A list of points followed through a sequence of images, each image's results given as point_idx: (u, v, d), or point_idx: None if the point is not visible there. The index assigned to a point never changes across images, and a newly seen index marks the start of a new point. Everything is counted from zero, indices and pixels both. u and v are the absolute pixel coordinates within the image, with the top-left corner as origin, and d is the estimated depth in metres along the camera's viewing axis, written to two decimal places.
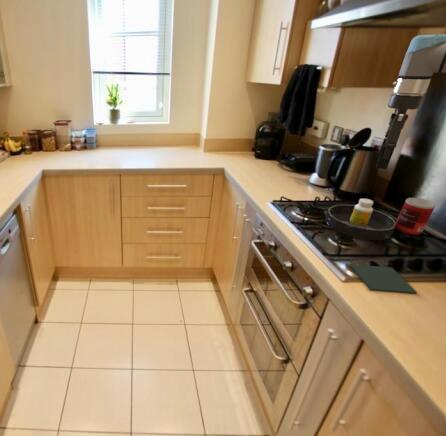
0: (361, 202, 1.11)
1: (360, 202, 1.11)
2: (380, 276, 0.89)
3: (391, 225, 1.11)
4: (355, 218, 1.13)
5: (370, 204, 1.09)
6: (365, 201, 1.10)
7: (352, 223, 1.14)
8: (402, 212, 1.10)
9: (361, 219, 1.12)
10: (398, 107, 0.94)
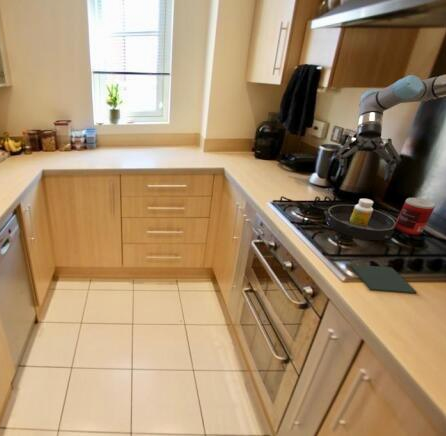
0: (361, 202, 1.11)
1: (360, 202, 1.11)
2: (380, 276, 0.89)
3: (391, 225, 1.11)
4: (355, 218, 1.13)
5: (370, 204, 1.09)
6: (365, 201, 1.10)
7: (352, 223, 1.14)
8: (402, 212, 1.10)
9: (361, 219, 1.12)
10: None
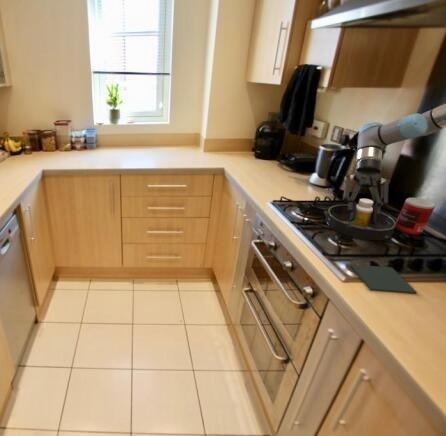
0: (361, 202, 1.11)
1: (360, 202, 1.11)
2: (380, 276, 0.89)
3: (391, 225, 1.11)
4: (355, 218, 1.13)
5: (370, 204, 1.09)
6: (365, 201, 1.10)
7: (352, 223, 1.14)
8: (402, 212, 1.10)
9: (361, 219, 1.12)
10: None
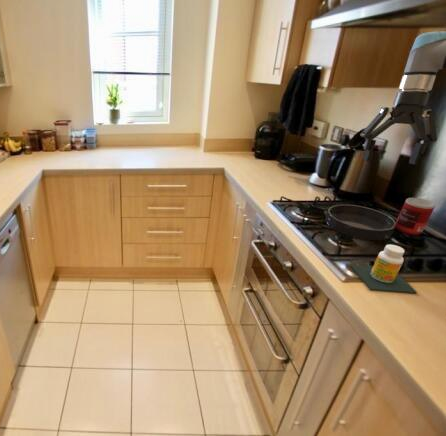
0: (388, 250, 0.84)
1: (386, 250, 0.84)
2: None
3: (391, 225, 1.11)
4: (380, 270, 0.86)
5: (400, 253, 0.82)
6: (393, 249, 0.84)
7: (375, 276, 0.88)
8: (402, 212, 1.10)
9: (388, 272, 0.85)
10: None
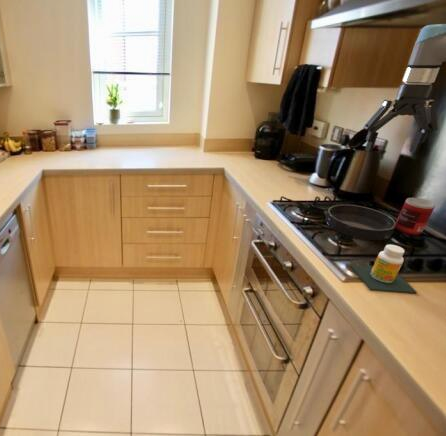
0: (388, 250, 0.84)
1: (386, 250, 0.84)
2: None
3: (391, 225, 1.11)
4: (380, 270, 0.86)
5: (400, 253, 0.82)
6: (393, 249, 0.84)
7: (375, 276, 0.88)
8: (402, 212, 1.10)
9: (388, 272, 0.85)
10: (397, 94, 0.99)
